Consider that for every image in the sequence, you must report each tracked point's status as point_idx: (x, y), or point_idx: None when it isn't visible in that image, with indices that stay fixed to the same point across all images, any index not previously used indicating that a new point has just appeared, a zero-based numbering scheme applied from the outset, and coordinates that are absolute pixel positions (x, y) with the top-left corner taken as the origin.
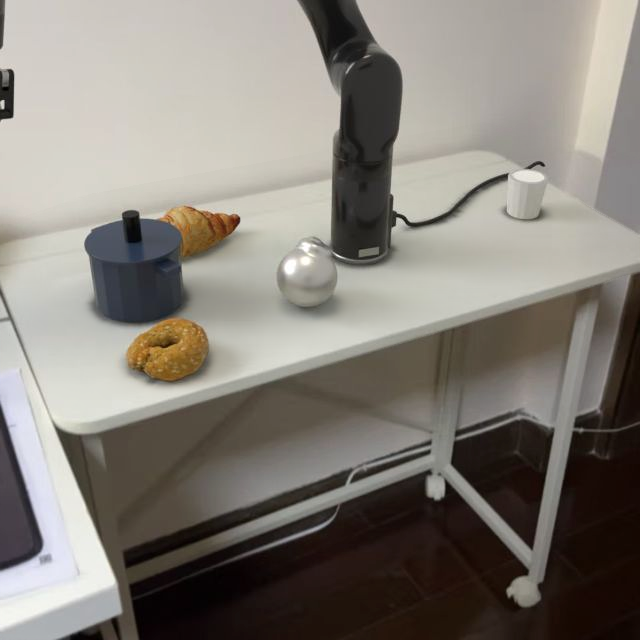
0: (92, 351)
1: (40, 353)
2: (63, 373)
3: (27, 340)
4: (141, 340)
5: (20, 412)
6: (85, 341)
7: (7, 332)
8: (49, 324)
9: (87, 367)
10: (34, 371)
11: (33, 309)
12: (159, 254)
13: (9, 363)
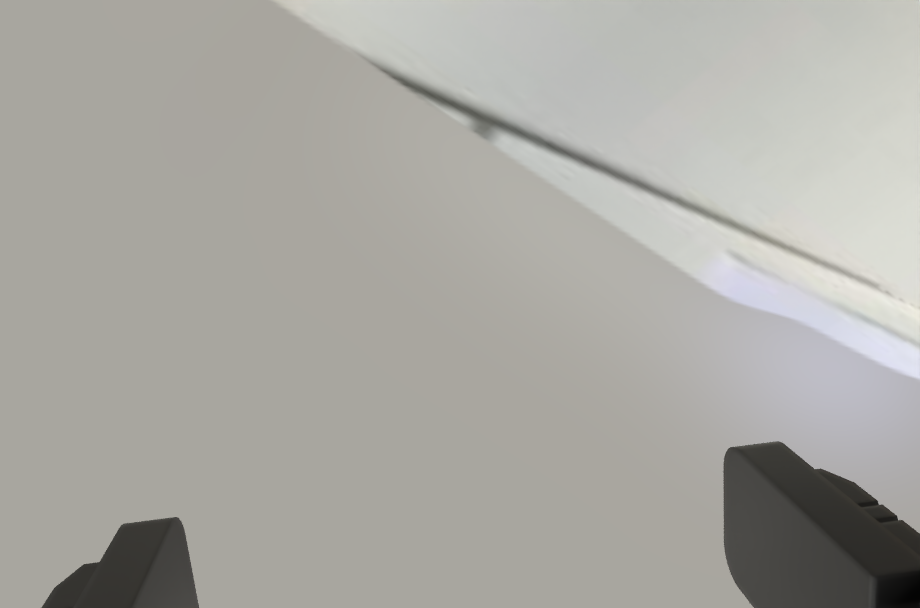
0: (846, 66)
1: (717, 175)
2: (848, 191)
3: (631, 160)
4: None
5: (869, 351)
6: (787, 44)
7: (547, 173)
8: (614, 60)
9: (889, 129)
10: (770, 236)
11: (496, 38)
12: None
13: (683, 257)
